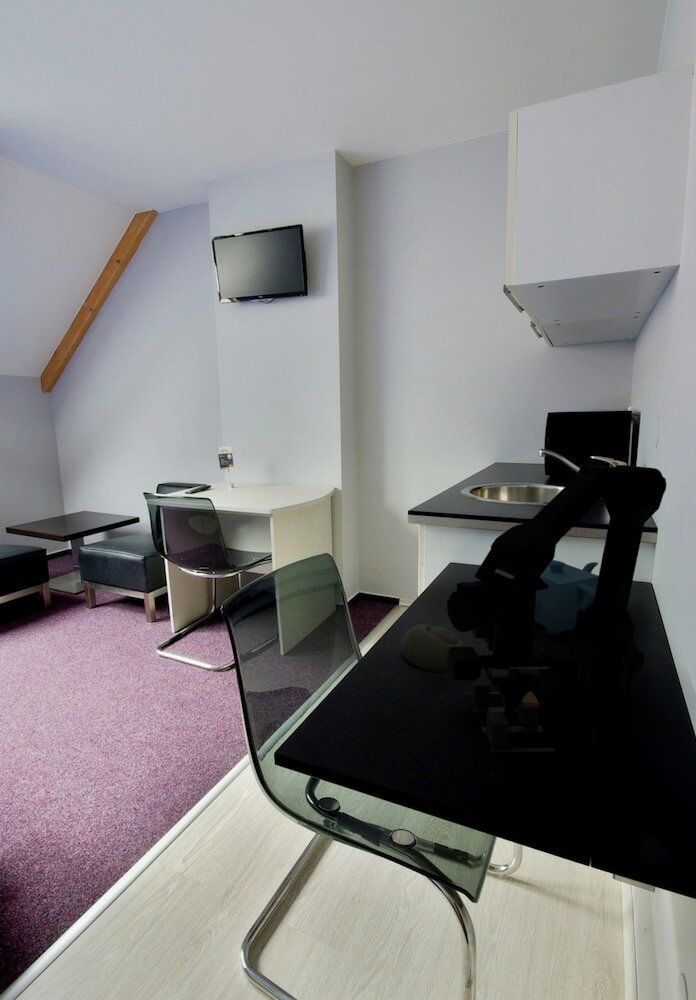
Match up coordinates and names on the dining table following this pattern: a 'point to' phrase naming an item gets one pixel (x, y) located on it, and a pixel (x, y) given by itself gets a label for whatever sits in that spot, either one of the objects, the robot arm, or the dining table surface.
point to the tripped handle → (528, 710)
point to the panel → (512, 729)
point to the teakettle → (564, 595)
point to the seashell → (429, 647)
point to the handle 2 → (497, 729)
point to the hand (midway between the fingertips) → (508, 713)
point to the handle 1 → (480, 692)
